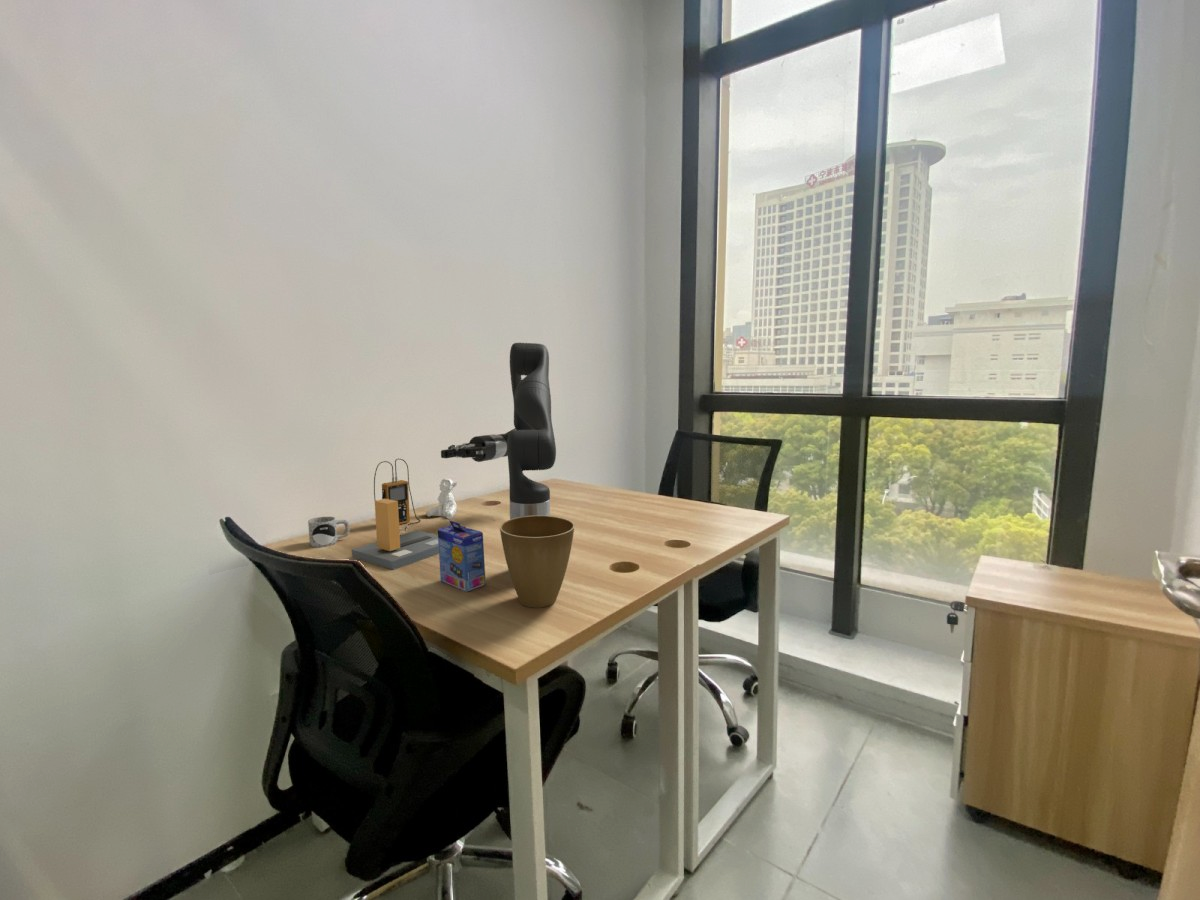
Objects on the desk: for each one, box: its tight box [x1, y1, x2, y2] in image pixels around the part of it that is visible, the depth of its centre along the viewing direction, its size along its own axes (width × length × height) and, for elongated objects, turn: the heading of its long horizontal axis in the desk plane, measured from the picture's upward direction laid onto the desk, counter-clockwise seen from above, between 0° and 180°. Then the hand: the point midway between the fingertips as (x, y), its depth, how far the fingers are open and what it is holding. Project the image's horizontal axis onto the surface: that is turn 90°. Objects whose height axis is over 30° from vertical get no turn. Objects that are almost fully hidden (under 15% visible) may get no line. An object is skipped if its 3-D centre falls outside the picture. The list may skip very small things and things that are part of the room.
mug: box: [307, 516, 350, 548], centre depth 152 cm, size 10×7×7 cm, turn 126°
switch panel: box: [351, 529, 439, 570], centre depth 144 cm, size 16×20×2 cm
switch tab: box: [374, 498, 401, 551], centre depth 139 cm, size 5×3×12 cm, turn 57°
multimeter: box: [373, 458, 421, 531], centre depth 166 cm, size 15×10×20 cm
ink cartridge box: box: [437, 519, 487, 593], centre depth 122 cm, size 10×6×14 cm, turn 51°
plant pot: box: [499, 515, 575, 608], centre depth 113 cm, size 15×15×16 cm
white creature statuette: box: [425, 477, 458, 520], centre depth 180 cm, size 10×9×12 cm
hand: (442, 454), depth 152 cm, fingers closed
